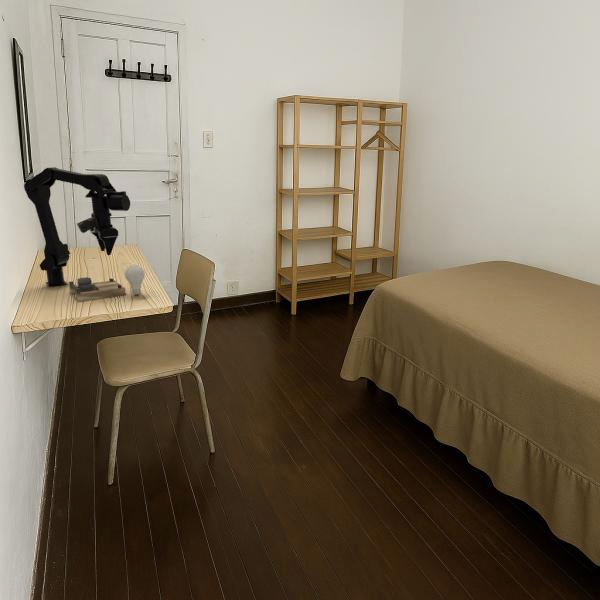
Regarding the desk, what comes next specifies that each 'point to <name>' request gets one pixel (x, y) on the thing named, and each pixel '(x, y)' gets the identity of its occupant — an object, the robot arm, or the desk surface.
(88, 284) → the stacked grey discs
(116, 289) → the wooden handle frame
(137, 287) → the light bulb
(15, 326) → the desk surface
